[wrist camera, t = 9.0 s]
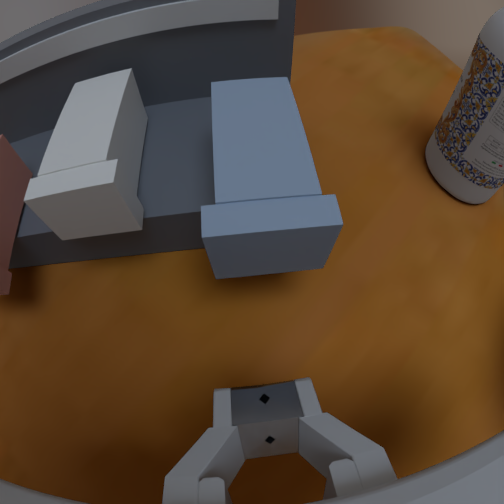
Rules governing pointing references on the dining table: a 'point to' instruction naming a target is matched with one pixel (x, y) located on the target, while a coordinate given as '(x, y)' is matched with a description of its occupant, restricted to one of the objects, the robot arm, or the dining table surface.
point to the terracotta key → (10, 205)
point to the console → (154, 100)
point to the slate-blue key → (264, 185)
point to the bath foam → (474, 123)
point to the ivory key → (93, 161)
